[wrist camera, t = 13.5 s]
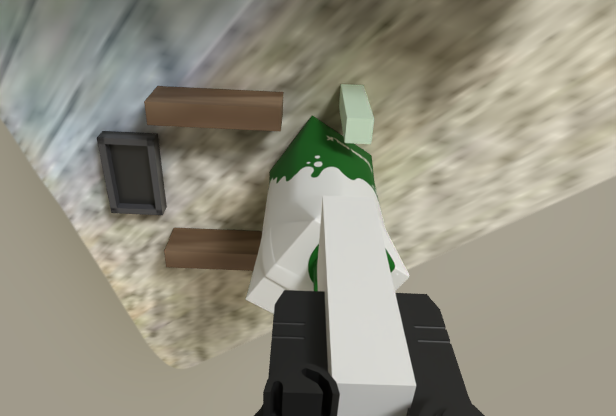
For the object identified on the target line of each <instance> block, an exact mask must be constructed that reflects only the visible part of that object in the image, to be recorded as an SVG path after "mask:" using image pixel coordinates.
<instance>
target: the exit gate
mask: <svg viewBox="0 0 616 416" xmlns="http://www.w3.org/2000/svg"><path fill="white" fill-rule="evenodd" d="M339 110H340V116H341V123H342V129H343V136H344V142H345V143H356V144H371V141H372V133H373V125H374V117H373V113H372V110H371V107H370V104H369V101H368V97H367V94H366V91H365V88H364V85H352V84H341V87H340V99H339Z"/></svg>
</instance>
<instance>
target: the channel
mask: <svg viewBox="0 0 616 416" xmlns="http://www.w3.org/2000/svg"><path fill="white" fill-rule="evenodd" d="M144 103H145V111H146V118H147V125H157V126H178V127H200V128H221V129H242V130H263V131H281V124H282V115H283V92H267V91H247V90H227V89H207V88H186V87H166V86H157V87H156V88H155V90H154V91H153V92H152V93H151V94H150V96H149V97H148V98H147V99H146V100H145V101H144ZM261 238H262V231H241V230H217V229H192V228H174V229H173V231H172V234H171V236H170V238H169V241H168V243H167V246H166V248H165V250H164V253H165V261H166V267H175V268H200V269H226V270H251V271H253V270H254V266H255V262H256V259H257V255H258V251H259V247H260V243H261Z"/></svg>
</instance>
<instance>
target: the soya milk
mask: <svg viewBox="0 0 616 416" xmlns="http://www.w3.org/2000/svg"><path fill="white" fill-rule="evenodd" d="M323 195H325V196H348V197H371V198H374V202H375V206H376V210H377V215H378V219H379V224H380V228H381V232H382V237H383V241H384V246H385V250H386V254H387V259H388V263H389V268H390V272H391V276H392V281H393V285H394V290H395V291H396V290H397V289H398V288H399V287H400V286H401V285H402V284H403V283H404V282H405V281H406V280H407V279H408V278H409V273H408V271H407V269H406V267H405V266H404V264H403V262H402V260H401V258H400V256H399V254H398V252H397V250H396V248H395V246H394V244H393V243H392V241H391V239H390V237H389V235H388V233H387V231H386V229H385V225H384V221H383V217H382V212H381V208H380V204H379V200H378V196H377V192H376V188H375V183H374V175H373V166H372V156H371V155H370V154H369V153H367V152H366V151H364V150H363V149H361V148H360V147H358V146H357V145H355V144H354V143H345V142H344V136H342V135H341V134H339V133H338V132H336V131H335V130H333V129H332V128H330V127H329V126H327V125H326V124H324V123H323V122H321V121H320V120H318V119H317V118H316V117H314V116H311V118H310V119H309V120H308V122H307V123H306V124H305V126H304V127H303V128H302V130H301V131H300V132H299V134H298V135H297V136H296V138H295V139H294V140H293V141H292V143H291V144H290V145H289V147H288V148H287V149H286V151H285V152H284V153H283V155H282V156H281V157H280V159H279V160H278V161H277V163H276V164H275V165H274V167H273V168H272V169H271V171H270V182H269V188H268V195H267V202H266V209H265V216H264V223H263V231H262V238H261V243H260V247H259V251H258V255H257V259H256V262H255V266H254V270H253V274H252V278H251V281H250V285H249V289H248V292H247V296H246V300H247V301H249V302H251V303H253V304H255V305H257V306H259V307H261V308H263V309H265V310H267V311H269V312H271V313H273V314H274V306H275V303H276V302H277V300H278V299H279V297H280V296H281V294H282V293H283V291H284V290H297V291H318V284H317V263H318V250H319V237H320V224H321V211H322V198H323Z"/></svg>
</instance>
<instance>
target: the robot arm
mask: <svg viewBox="0 0 616 416" xmlns="http://www.w3.org/2000/svg"><path fill="white" fill-rule="evenodd" d="M317 284H318V291H297V290H284V291H283V293H282V294H281V296H280V297H279V299H278V300H277V302H276V303H275V306H274V318H273V330H272V342H271V355H270V366H269V378H268V380H267V383H266V386H265V389H264V392H263V393H264V394H263V401H264V402H263V405H262V407H261V409H260V410H259V411H258V412H257V413H256V414H255V415H254V416H484V415H483V414H482V413H481V412H480V411H479V410H478V409H477V408H476V407H475V406H474V405H472V403H471V401H470V399H469V397H468V394H467V391H466V388H465V384H464V381H463V378H462V375H461V373H460V369H459V366H458V363H457V360H456V357H455V354H454V351H453V348H452V345H451V344H450V339H449V336H448V333H447V330H445V324H444V321H443V318H442V314H441V312H440V309H439V308H438V307H437V306H436V304H435V303H434V302H433V301H432V300H431V299H430V298H429V296H428V295H427V294H407V293H395V290H394V285H393V281H392V276H391V272H390V268H389V263H388V259H387V254H386V250H385V246H384V241H383V237H382V232H381V228H380V224H379V219H378V215H377V210H376V206H375V202H374V198H371V197H348V196H325V195H323V198H322V211H321V224H320V237H319V250H318V263H317Z"/></svg>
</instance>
